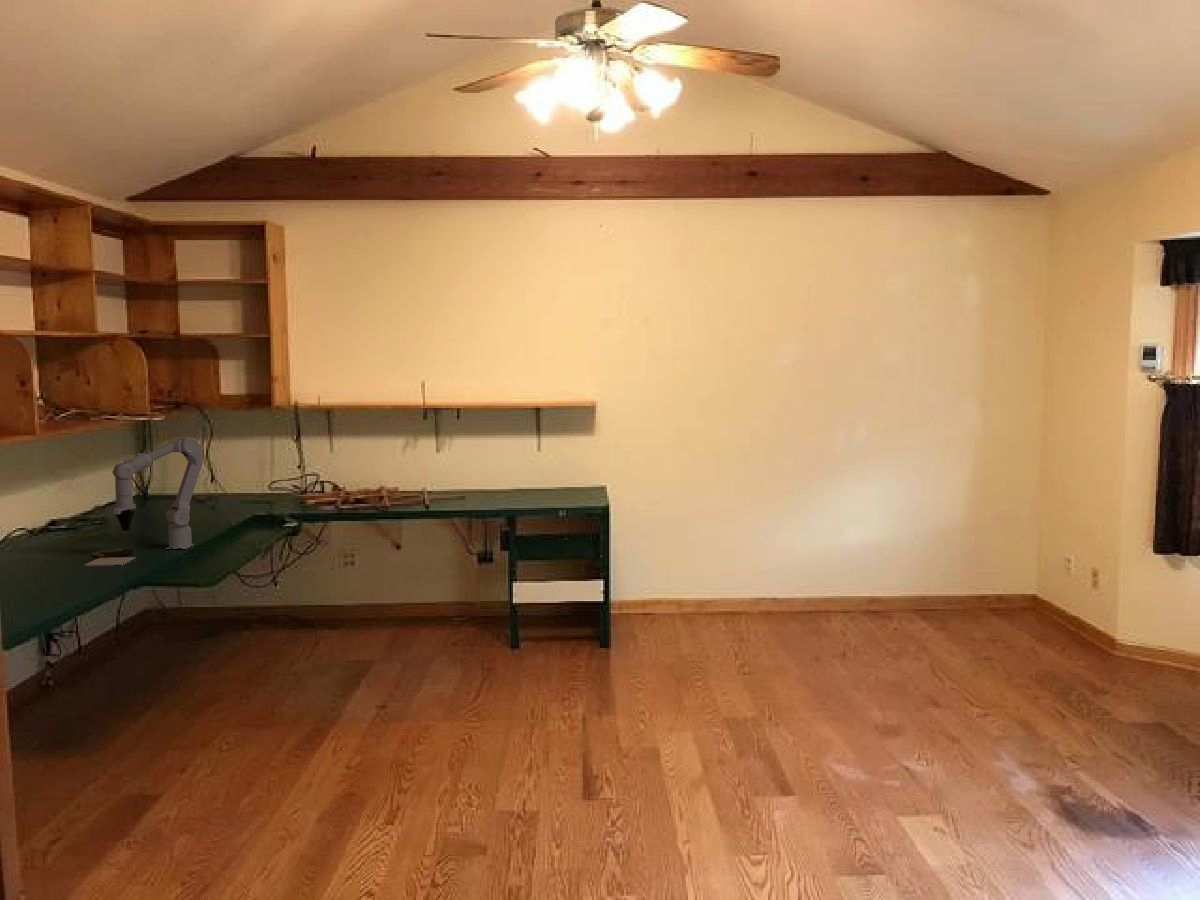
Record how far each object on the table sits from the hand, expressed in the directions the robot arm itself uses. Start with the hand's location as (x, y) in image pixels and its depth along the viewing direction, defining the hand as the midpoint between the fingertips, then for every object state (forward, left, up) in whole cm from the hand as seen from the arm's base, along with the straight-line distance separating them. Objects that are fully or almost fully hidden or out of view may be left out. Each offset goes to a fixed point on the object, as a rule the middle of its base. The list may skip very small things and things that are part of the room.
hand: (125, 530), depth 363 cm
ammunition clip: (+4, -1, -8) cm, 9 cm away
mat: (+14, 0, -9) cm, 17 cm away
